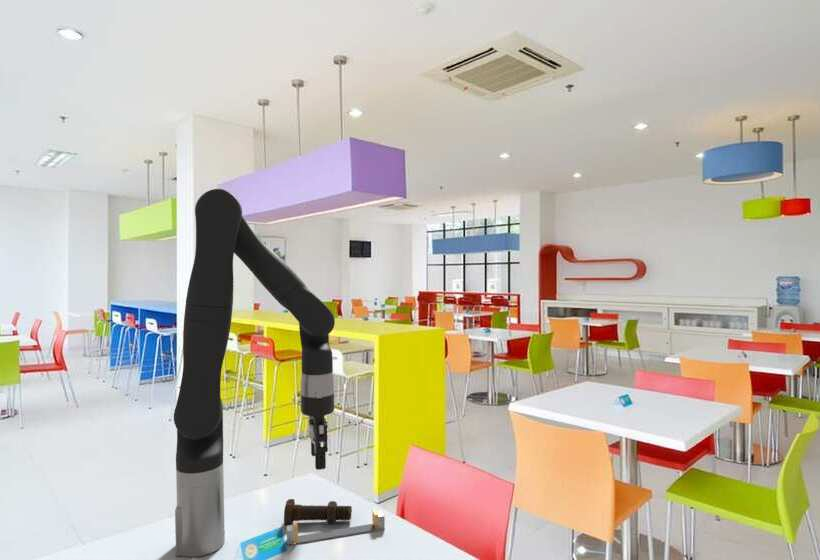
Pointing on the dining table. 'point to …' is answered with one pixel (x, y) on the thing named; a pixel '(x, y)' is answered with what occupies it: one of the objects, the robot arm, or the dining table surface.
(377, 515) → the small wooden block
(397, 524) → the dining table surface
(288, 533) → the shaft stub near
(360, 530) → the pad
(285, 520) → the bolt
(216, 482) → the robot arm
